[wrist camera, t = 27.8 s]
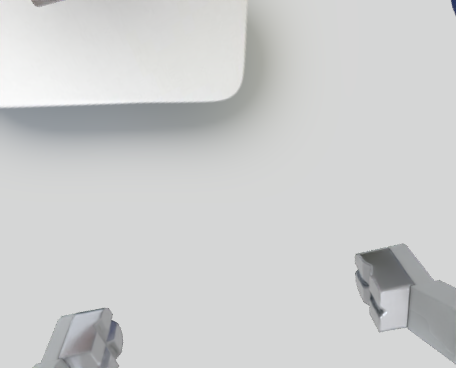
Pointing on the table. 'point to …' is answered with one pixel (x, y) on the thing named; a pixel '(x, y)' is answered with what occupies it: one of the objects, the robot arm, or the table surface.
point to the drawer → (44, 2)
